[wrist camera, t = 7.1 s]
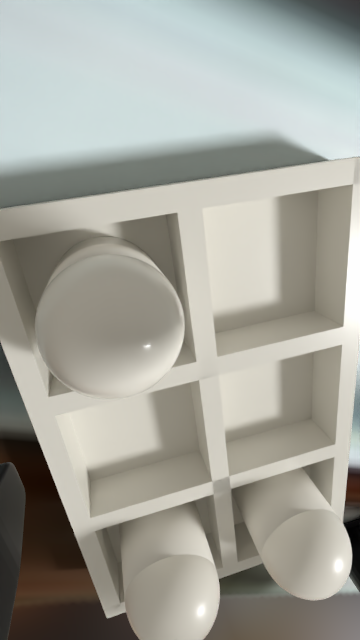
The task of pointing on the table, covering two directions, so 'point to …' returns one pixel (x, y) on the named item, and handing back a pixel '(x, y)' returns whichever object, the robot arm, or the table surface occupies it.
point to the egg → (109, 320)
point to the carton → (206, 390)
